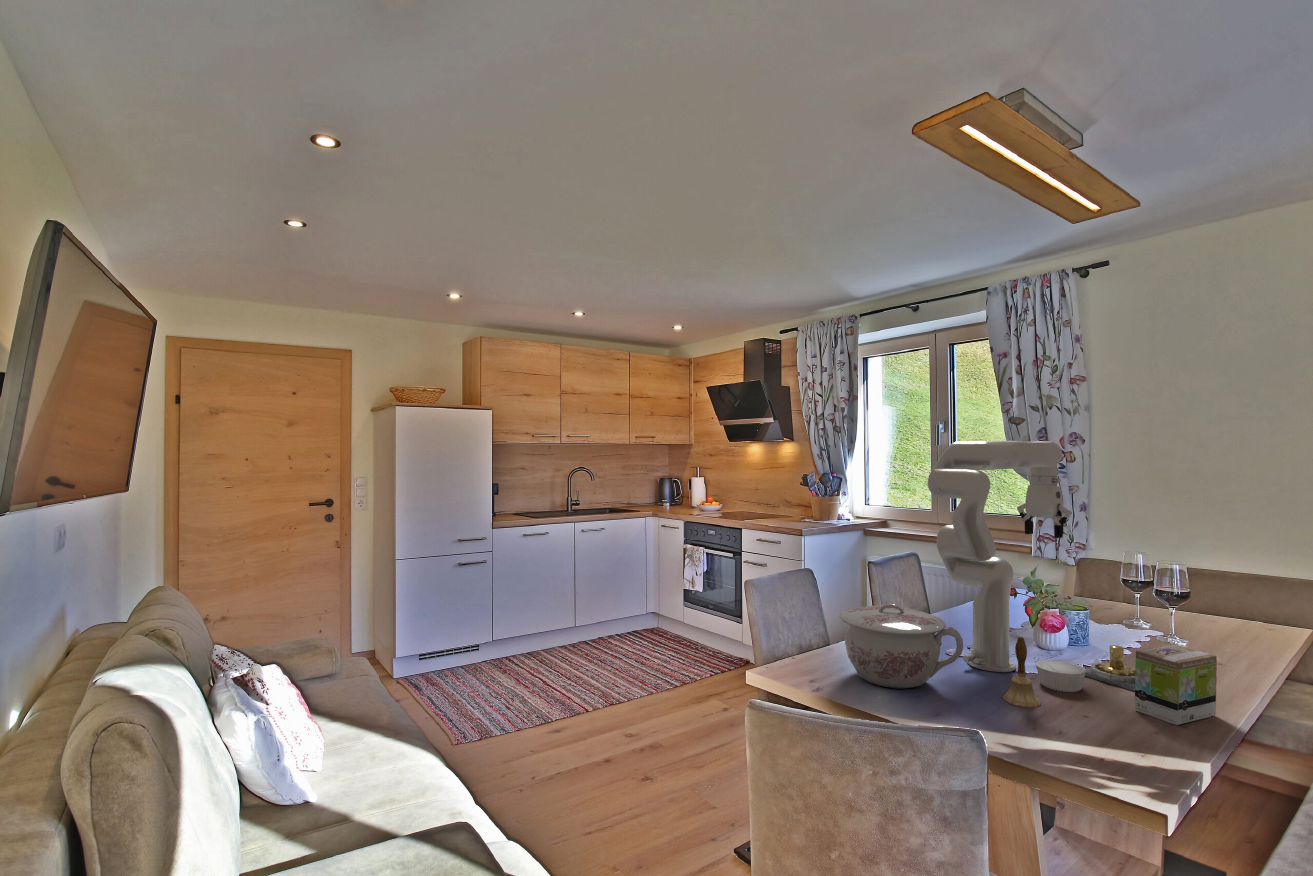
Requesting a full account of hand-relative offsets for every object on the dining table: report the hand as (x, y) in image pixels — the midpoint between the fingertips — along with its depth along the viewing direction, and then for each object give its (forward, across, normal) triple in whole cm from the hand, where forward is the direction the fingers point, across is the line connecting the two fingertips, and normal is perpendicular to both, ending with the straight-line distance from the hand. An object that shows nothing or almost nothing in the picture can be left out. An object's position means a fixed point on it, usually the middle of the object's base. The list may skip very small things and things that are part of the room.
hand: (1043, 535), depth 207 cm
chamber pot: (+36, -1, +64) cm, 74 cm away
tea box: (+36, -46, +19) cm, 61 cm away
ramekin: (+36, -23, +27) cm, 50 cm away
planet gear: (+34, -26, +7) cm, 44 cm away
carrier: (+36, -28, +7) cm, 46 cm away
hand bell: (+36, -25, +46) cm, 63 cm away
